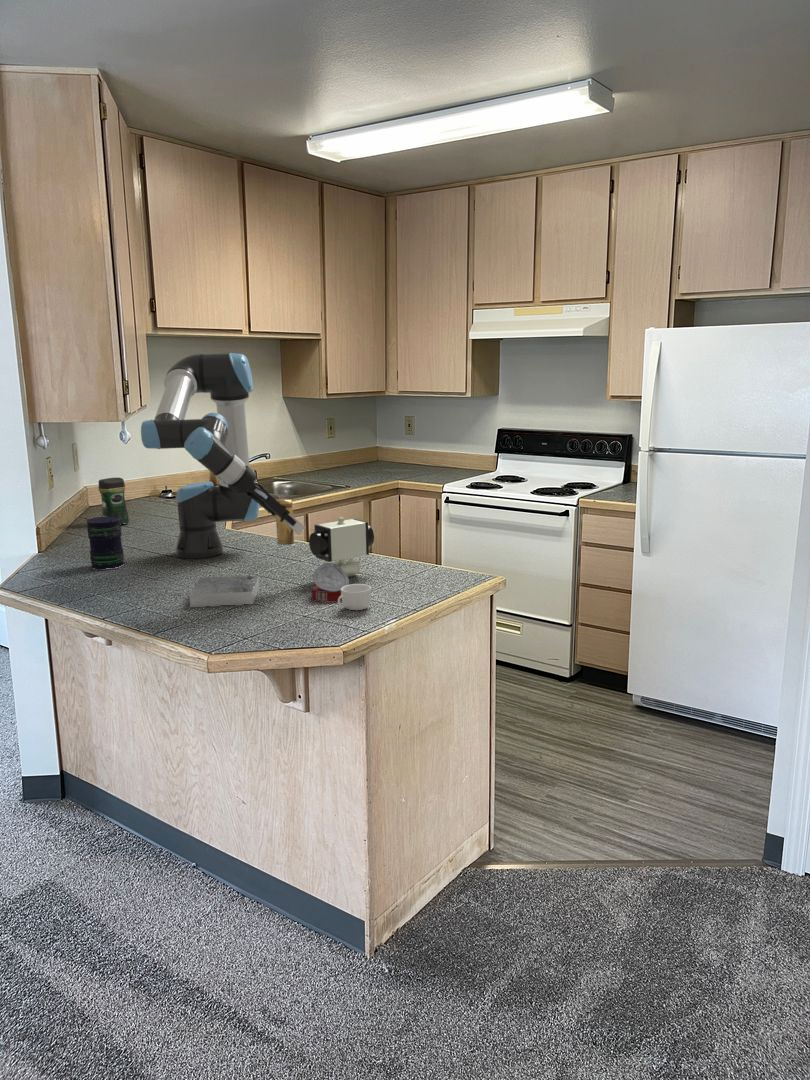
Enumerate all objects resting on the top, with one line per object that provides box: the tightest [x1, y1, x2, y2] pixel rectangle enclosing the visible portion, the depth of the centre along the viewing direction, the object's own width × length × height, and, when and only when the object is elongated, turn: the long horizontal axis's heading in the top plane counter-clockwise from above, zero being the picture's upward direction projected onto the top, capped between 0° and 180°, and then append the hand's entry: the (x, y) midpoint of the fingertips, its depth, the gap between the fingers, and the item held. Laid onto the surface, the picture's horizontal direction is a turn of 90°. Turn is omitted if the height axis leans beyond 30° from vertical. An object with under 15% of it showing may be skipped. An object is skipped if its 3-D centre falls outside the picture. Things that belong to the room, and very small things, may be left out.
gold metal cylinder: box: [275, 498, 295, 546], centre depth 220 cm, size 5×5×12 cm
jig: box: [188, 574, 260, 608], centre depth 214 cm, size 16×16×4 cm
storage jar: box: [86, 516, 125, 569], centre depth 248 cm, size 10×10×15 cm
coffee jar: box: [98, 477, 130, 524], centre depth 312 cm, size 10×8×19 cm
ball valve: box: [308, 517, 375, 578], centre depth 230 cm, size 18×8×18 cm, turn 127°
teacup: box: [337, 583, 372, 611], centre depth 202 cm, size 10×8×5 cm
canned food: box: [311, 562, 350, 602], centre depth 213 cm, size 11×10×10 cm
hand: (298, 529), depth 222 cm, fingers closed on gold metal cylinder, 4 cm apart
